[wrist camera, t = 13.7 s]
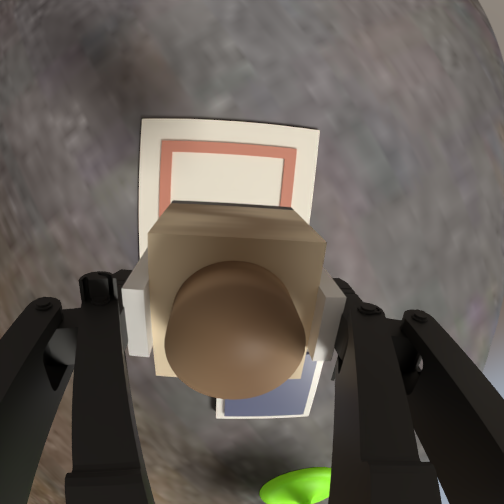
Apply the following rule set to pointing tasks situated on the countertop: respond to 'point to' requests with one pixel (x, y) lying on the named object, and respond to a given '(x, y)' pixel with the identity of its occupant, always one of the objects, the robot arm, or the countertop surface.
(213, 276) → the wooden stamp
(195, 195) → the print card
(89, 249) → the countertop surface
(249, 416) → the ink pad
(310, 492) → the wineglass
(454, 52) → the countertop surface
